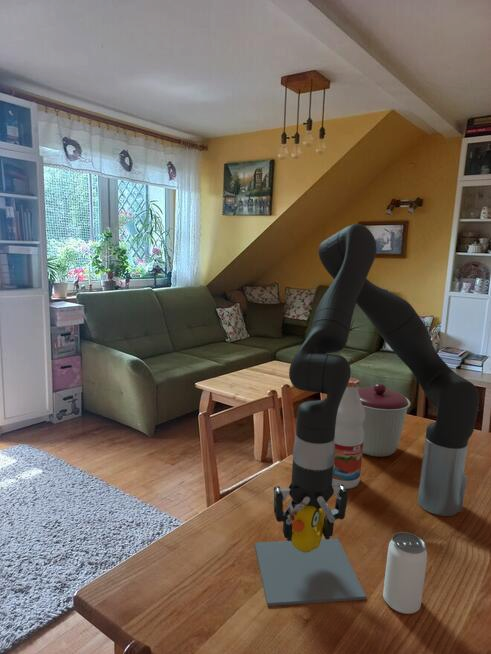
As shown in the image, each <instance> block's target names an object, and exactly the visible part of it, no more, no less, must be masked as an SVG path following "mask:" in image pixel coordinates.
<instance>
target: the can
mask: <svg viewBox="0 0 491 654" xmlns="http://www.w3.org/2000/svg"><path fill="white" fill-rule="evenodd" d="M426 548H427V546H426V543H425V541H424V540H423V539H422V538H421V537H419V536H418V535H416V534H414V533H411V532H408V531H407V532H405V531H400V532H399V531H398V532H396V533H393V535H392V536H391V539H390V542H389V543H388V548H387V555H386V563H385V564H386V566H385V573H384V583H383V592H382V594H383V600H384V601H385V603H386V604H387V605H388V606H389V607H390V608H391V609H392V610H393V611H395V612H397V613H400V614H404V615H412V614H415V613H418V612H419V610H420V609H421V605H422V600H423V593H424V586H425V585H424V584H425V578H426V571H427V570H426V569H427V564H428V563H427V562H428V553H427V549H426Z"/></svg>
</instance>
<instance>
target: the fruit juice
mask: <svg viewBox="0 0 491 654" xmlns="http://www.w3.org/2000/svg"><path fill="white" fill-rule="evenodd" d="M360 385H361V382H360V380H359V379H357V378H354V377H350V379H349V382H348V385H347V387H346V389H345V392H344V394H343V397H342V399H341V402H340V405H339V408H338V412H337V417H336V426H335V456H334V468H333V480H332V487H338V486H339V485H340V484H343V485H344V487H345V488H346V490H347V489H353V488H356V487H357V486H358V485H359V483H360V481H361V473H362V472H361V471H362V460H363V453H362V452H363V442H364V429H363V422H364V420H365V409H364V407H363V405H362V403H361V400H360V396H359V392H358V388H360Z"/></svg>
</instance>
